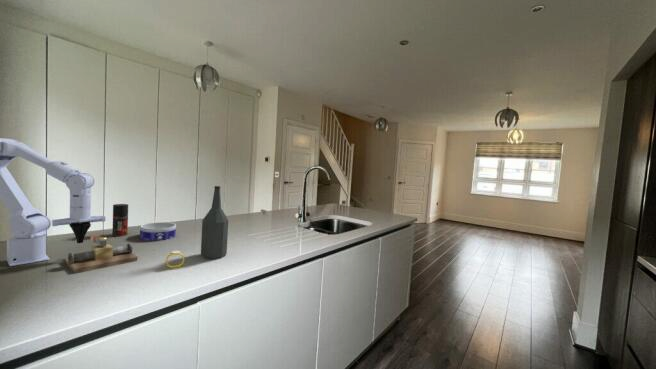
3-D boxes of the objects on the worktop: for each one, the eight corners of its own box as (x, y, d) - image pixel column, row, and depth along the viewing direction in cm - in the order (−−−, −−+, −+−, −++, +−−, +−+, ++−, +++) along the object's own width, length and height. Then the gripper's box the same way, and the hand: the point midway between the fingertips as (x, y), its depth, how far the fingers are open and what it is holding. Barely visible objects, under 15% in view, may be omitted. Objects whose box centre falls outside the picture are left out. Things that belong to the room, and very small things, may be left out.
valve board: (74, 273, 90) (75, 257, 90) (64, 262, 99) (64, 247, 98) (137, 260, 105) (137, 246, 105) (123, 251, 113) (124, 238, 113)
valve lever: (107, 246, 102) (108, 238, 101) (99, 247, 100) (99, 239, 99) (98, 239, 108) (98, 232, 108) (89, 240, 106) (89, 233, 106)
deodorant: (114, 237, 130) (115, 206, 129) (110, 234, 134) (111, 204, 133) (129, 235, 135) (130, 205, 134) (125, 232, 139) (125, 203, 138)
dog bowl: (172, 232, 147) (172, 221, 147) (178, 239, 136) (179, 227, 135) (138, 234, 138) (138, 223, 137) (141, 242, 126) (142, 230, 126)
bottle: (216, 261, 111) (220, 187, 109) (195, 257, 113) (199, 185, 111) (230, 253, 121) (234, 186, 119) (211, 250, 123) (214, 184, 121)
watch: (183, 265, 105) (185, 250, 105) (183, 268, 102) (185, 252, 102) (165, 266, 102) (167, 250, 101) (165, 269, 99) (167, 253, 99)
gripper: (55, 209, 92) (54, 249, 93) (108, 206, 104) (107, 241, 105) (50, 206, 96) (50, 244, 97) (102, 203, 108) (101, 237, 109)
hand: (79, 242), depth 101 cm, fingers closed
